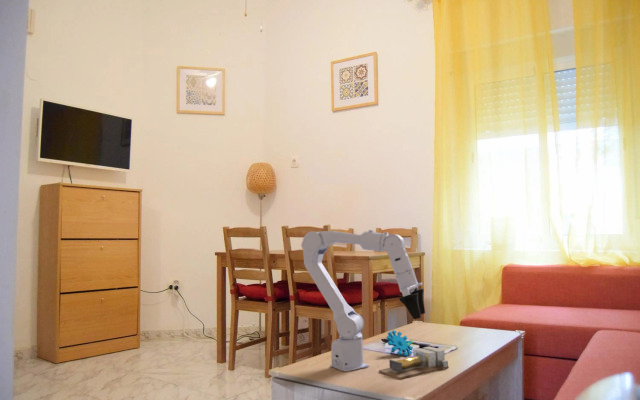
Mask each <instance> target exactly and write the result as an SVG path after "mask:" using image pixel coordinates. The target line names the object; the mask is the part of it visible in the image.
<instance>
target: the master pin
mask: <svg viewBox="0 0 640 400" xmlns="http://www.w3.org/2000/svg"><path fill="white" fill-rule="evenodd" d="M421 363H422V360H421V358H420V357H419V356H416V357H414V356H412V357H407V358H403V359H399V360H397V359H396V360H395V359H394V360H393V359H389V368H391V369H394V370H397V371H402V369H403V368H408V367H412V366H416V365H420V364H421Z"/></svg>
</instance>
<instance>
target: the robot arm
mask: <svg viewBox="0 0 640 400" xmlns="http://www.w3.org/2000/svg"><path fill="white" fill-rule="evenodd" d="M337 243H342V244H350V245H351V244H352V245H359V246H360V247H361V248H362V249H363V250H365V251H372V252H373V251H374V252H380V253H382V252H385V253H387V255H388V258H389V261H390V265H391V268H392V270H393V273H394V275H395V276H394V277H395V279H396V282H397V285H398V289H399V292H400V293H401V294H402V296H401V297H398V300H399V302H401V303H402V304H403V306H404V307H405V308H406V309H407V311H408V312H409V314H410V316H411V318H412V319H413V320H417V319H418V320H419V319H420V318H421V317H422V316H421V315H424V314H426V309H425V303H424V292H425V291H424V290H425V289H424V288H420V289H419V287H421V286H423V282H418V280H417V275H416V273H415V271H414V268H413V266H412V262H411V260H410V256H409V254H408V253H407V249H406V248H405V239H404V238H403V237H402V236H401V235H399V234H396V233H392V234H390V233H389V232H388V231H384V232H382V233H381V232H376V231H374V230H373V229H368V231H367V230H365V231H364V232H363V233H361V234H356V233H352V232H351V233H349V232H344V231H343V232H342V231H337V230H326V231H325V230H324V231H313V230H312V231H308V232H307V233H306V234H305V235H304V236H303V239H302V242H301V244H300V246H301V249H302V254H303V265H304V267H305V270H307V272H308V274H309V275H310V277H311V278H312V280H313V282H314V283H315V285H316V286H317V289H318V290H319V292H320V293H321V295H322V296H323V298H324V300H325V301H326V303H327V305H328V306H329V308H330V310H331V311H332V313H333V321H334V322H335V325H336V331H337V333H338V335H339V338H337V339H335V340H333V341H332V343H331V347H330V348H331V364H329V365H330V367H332V368H334V369H338V370H340V371H342V372H351V371H353V370H354V371H355V370H359V369H364V368H369V367H370V364H369V363H368V364H367V363H365V362H364V354H363V353H364V348H363V347H364V345H363V340H364V339H363V334H362V330H363V329H364V327H365V321H364V318H363V317H362V316H361V315H360V314H359V313H357V312H356V311H355V309H354V308H353V307H352V306H350V305H349V304H348V302H347V300H345V298H344V297H343V295H342V293H341V292H340V290H339V288H338V287H337V285H336V284H335V282H334V280H333V279H332V277H331V276H330V274H329V272H328V271H327V269H326V267H325V266H324V264H323V263H322V262H323V259H324V255H325V253H326V251H327V250H328V248H329V247H330V246H332V245H334V244H337Z"/></svg>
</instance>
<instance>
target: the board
mask: <svg viewBox="0 0 640 400" xmlns="http://www.w3.org/2000/svg"><path fill="white" fill-rule="evenodd" d="M445 369H449V365H448V366H447V367H441V366H436V367H433V368H426V362H423V363H421V364H420V365H416V366H412V367H408V368H403V369H402V371H397V370H394V369H391V368H390V367H388V368H383V369H378V373H379V374H382V375H386V376H389V377H391V378H395V379H397V380H404V379H408V378H412V377H416V376H421V375H424V374H428V373H432V372H436V371H441V370H445Z"/></svg>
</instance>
